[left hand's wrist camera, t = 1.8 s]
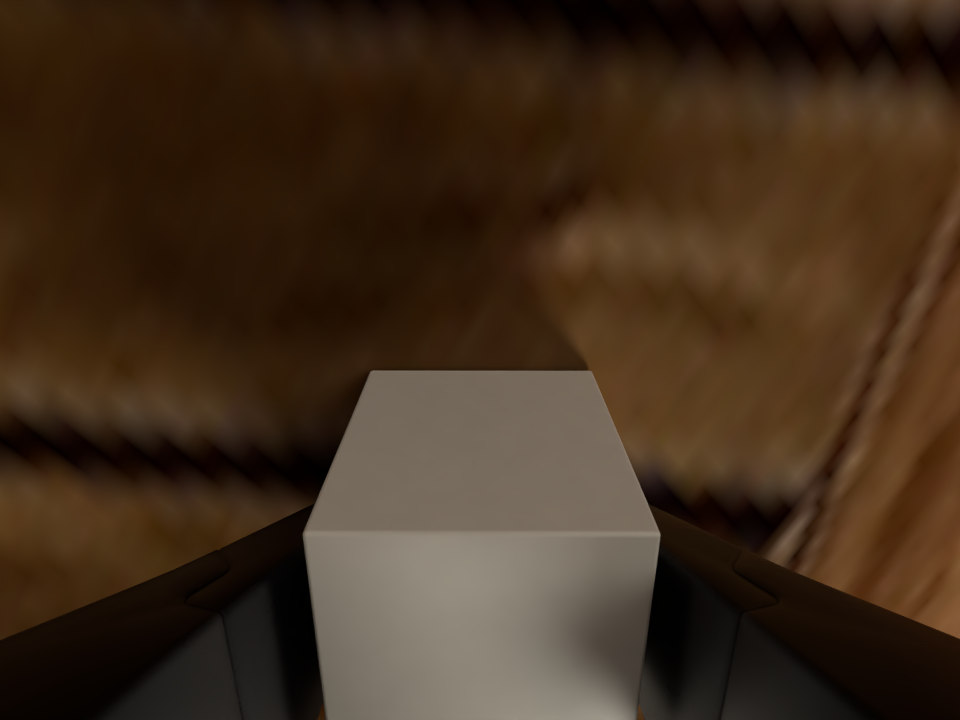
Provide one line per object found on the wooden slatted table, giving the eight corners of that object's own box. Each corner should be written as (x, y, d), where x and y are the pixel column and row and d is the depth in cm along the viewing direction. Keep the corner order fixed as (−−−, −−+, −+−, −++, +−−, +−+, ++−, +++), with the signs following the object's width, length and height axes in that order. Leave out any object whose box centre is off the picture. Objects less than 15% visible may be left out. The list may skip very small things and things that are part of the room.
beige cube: (384, 576, 14) (335, 814, 9) (369, 369, 12) (300, 533, 7) (576, 578, 14) (626, 813, 9) (592, 369, 12) (662, 533, 7)
